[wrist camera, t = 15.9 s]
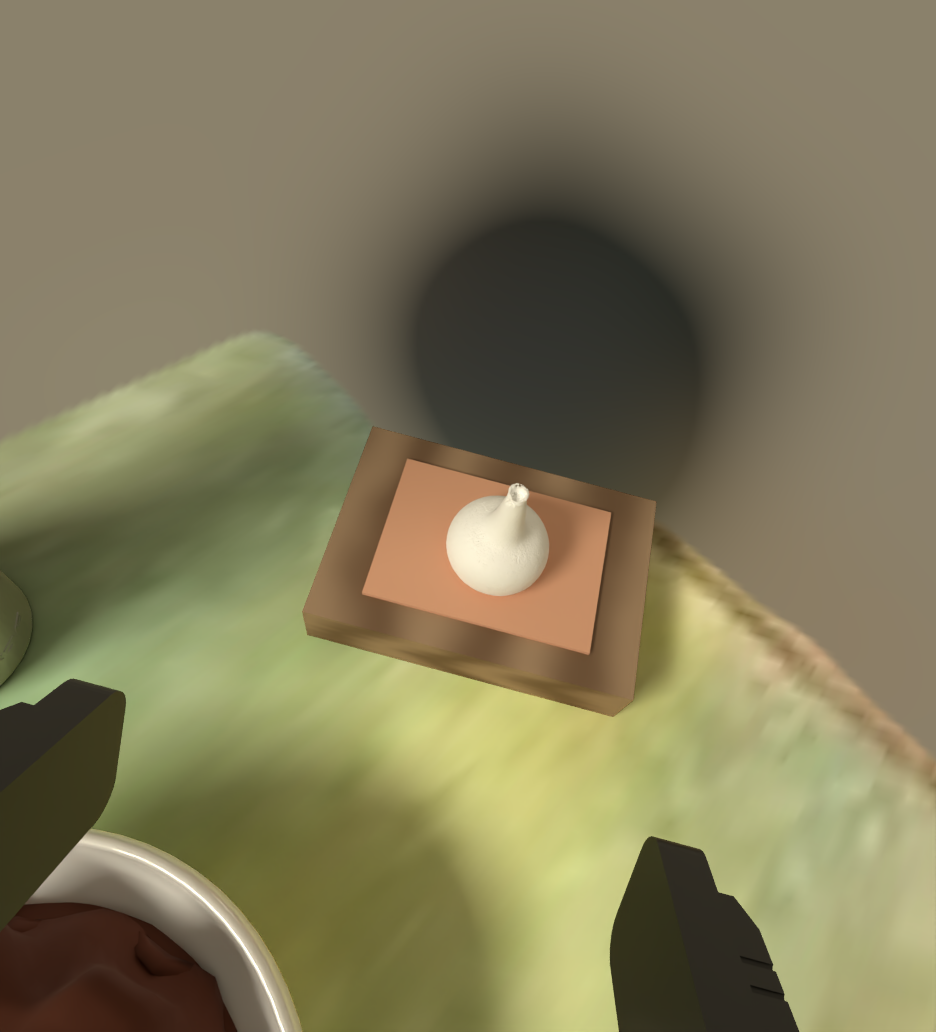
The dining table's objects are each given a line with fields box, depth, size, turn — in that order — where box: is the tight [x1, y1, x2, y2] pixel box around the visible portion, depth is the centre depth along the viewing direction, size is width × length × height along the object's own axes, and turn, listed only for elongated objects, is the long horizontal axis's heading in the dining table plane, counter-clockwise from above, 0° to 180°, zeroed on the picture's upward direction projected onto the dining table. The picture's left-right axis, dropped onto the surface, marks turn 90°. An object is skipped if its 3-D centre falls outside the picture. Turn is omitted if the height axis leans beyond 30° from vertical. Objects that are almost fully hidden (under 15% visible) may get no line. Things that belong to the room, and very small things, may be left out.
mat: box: [362, 459, 611, 655], centre depth 45 cm, size 14×10×1 cm
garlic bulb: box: [446, 483, 549, 596], centre depth 41 cm, size 6×6×8 cm
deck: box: [302, 427, 656, 717], centre depth 47 cm, size 20×14×4 cm
